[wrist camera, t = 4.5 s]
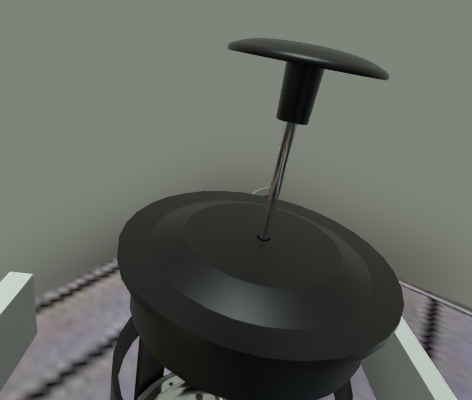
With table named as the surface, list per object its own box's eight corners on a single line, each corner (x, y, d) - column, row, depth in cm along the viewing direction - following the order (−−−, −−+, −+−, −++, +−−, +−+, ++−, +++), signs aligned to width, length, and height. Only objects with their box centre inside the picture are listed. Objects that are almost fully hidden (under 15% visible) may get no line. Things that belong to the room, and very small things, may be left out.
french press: (198, 394, 25) (267, 43, 15) (318, 500, 20) (519, 88, 11) (19, 568, 15) (-69, -37, 6) (164, 838, 11) (611, 29, 2)
